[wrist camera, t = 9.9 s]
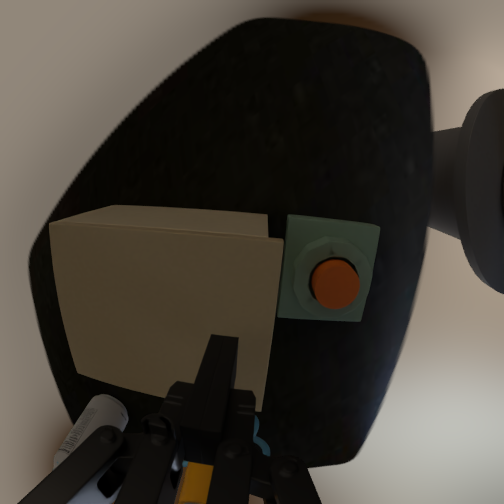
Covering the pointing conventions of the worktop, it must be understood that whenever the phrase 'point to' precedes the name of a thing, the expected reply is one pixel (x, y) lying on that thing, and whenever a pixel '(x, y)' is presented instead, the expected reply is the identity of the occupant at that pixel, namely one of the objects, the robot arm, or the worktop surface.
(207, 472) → the cylinder
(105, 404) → the energy drink can
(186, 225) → the beige square box
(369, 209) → the worktop surface
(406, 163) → the worktop surface
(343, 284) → the button
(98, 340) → the beige board
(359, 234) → the control block
